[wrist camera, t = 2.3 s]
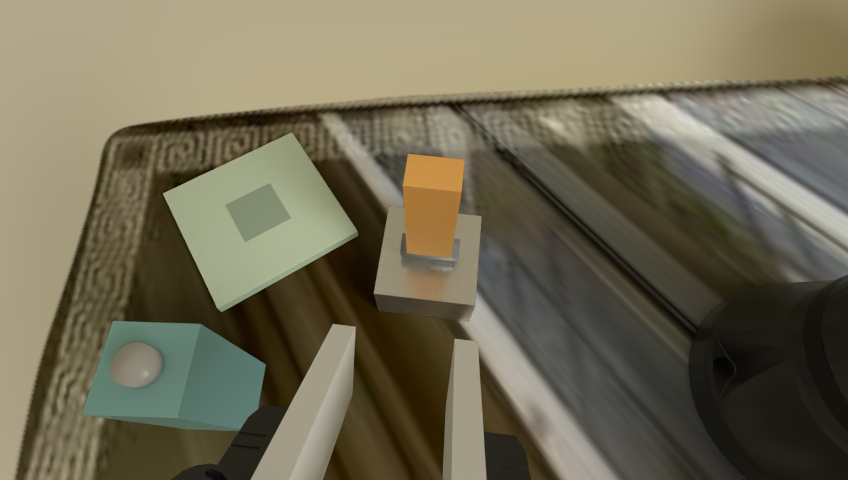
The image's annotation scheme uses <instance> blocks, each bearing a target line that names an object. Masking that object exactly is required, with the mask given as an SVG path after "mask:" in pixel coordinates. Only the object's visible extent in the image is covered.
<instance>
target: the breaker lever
mask: <svg viewBox="0 0 848 480" xmlns="http://www.w3.org/2000/svg"><path fill="white" fill-rule="evenodd" d="M464 162H465V160H462V159H452V158H443V157H433V156H424V155H414V154H408V158H407V164H406V170H405V176H404V182H403V196H404V214H405V231H406V233H403V234H402V239H401V248H400V255H401V256H409V257H418V258H427V259H436V260H444V261H453V262H458V256H459V247H460V239H454V236H455V230H456V224H457V217H458V211H459V205H460V199H461V192H462V182H463V172H464Z"/></svg>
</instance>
